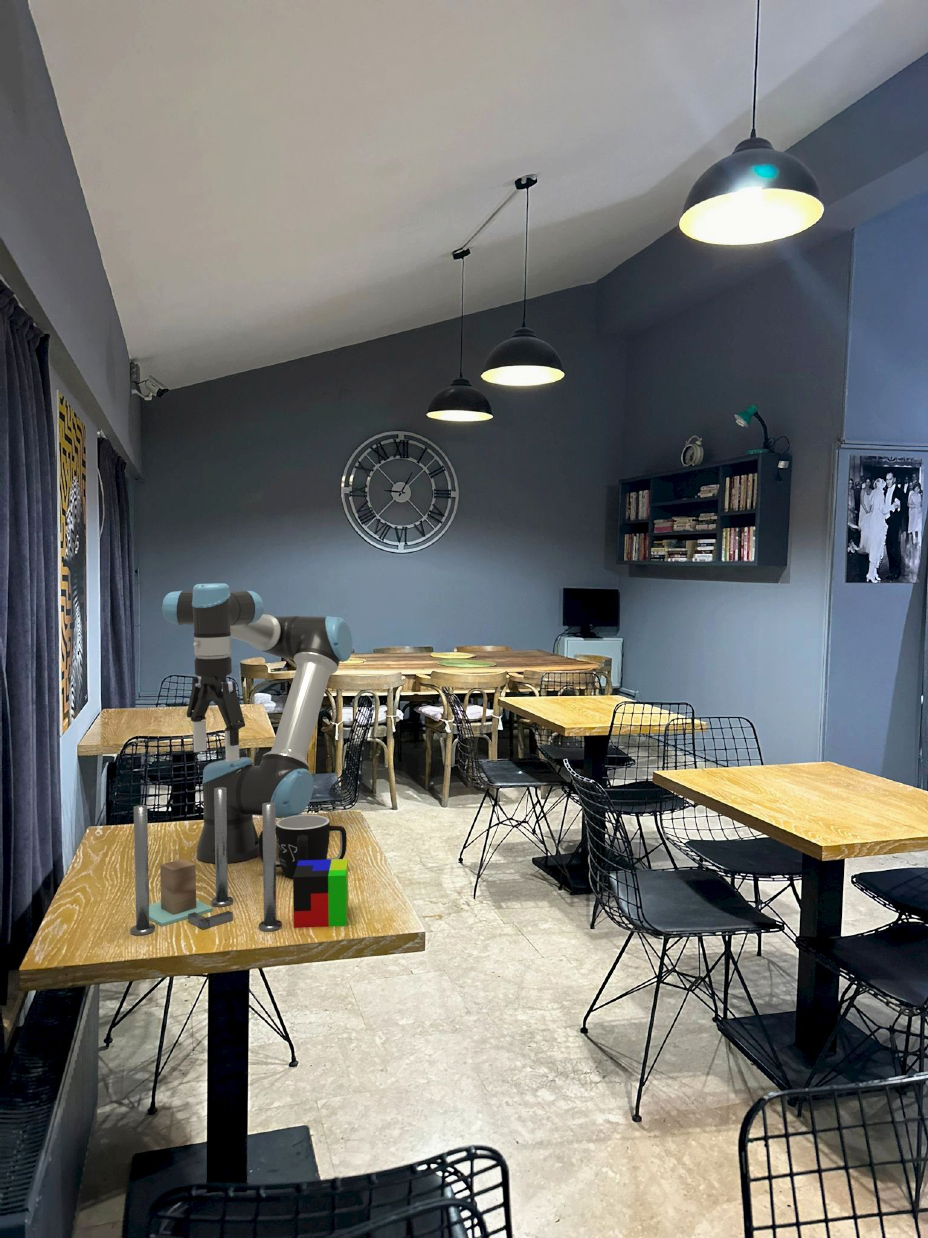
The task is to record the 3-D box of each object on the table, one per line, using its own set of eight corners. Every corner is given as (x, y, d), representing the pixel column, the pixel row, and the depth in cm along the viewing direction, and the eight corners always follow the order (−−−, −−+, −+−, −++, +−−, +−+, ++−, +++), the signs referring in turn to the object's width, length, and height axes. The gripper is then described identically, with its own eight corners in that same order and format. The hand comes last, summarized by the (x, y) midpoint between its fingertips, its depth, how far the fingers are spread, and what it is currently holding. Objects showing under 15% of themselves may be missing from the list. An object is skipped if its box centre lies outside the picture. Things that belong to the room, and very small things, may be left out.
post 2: (207, 903, 180) (205, 788, 179) (226, 897, 183) (224, 785, 182) (218, 908, 177) (216, 792, 176) (237, 903, 180) (235, 788, 179)
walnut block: (183, 902, 179) (183, 859, 179) (196, 908, 176) (195, 864, 175) (161, 908, 176) (160, 864, 175) (173, 915, 172) (172, 870, 172)
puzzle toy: (299, 909, 177) (298, 860, 177) (348, 907, 178) (348, 859, 177) (293, 928, 167) (293, 877, 167) (346, 926, 168) (345, 875, 167)
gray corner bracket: (188, 921, 170) (187, 914, 170) (217, 912, 175) (217, 905, 175) (202, 929, 166) (202, 922, 166) (232, 920, 171) (232, 912, 171)
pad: (136, 911, 176) (135, 908, 176) (186, 897, 184) (186, 894, 183) (161, 926, 168) (161, 923, 168) (212, 911, 176) (212, 908, 176)
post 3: (254, 927, 167) (252, 804, 166) (273, 920, 171) (272, 800, 170) (266, 933, 164) (265, 808, 163) (286, 927, 167) (284, 804, 166)
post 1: (126, 931, 166) (124, 807, 165) (148, 924, 169) (146, 802, 168) (136, 937, 163) (134, 811, 162) (159, 930, 166) (156, 806, 165)
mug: (253, 873, 198) (252, 822, 198) (310, 857, 210) (309, 808, 209) (296, 890, 187) (295, 835, 187) (353, 872, 199) (353, 820, 198)
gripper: (168, 654, 189) (171, 750, 191) (227, 662, 172) (230, 768, 173) (200, 651, 195) (203, 744, 196) (260, 659, 177) (263, 761, 178)
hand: (216, 756), depth 185 cm, fingers open, 13 cm apart
